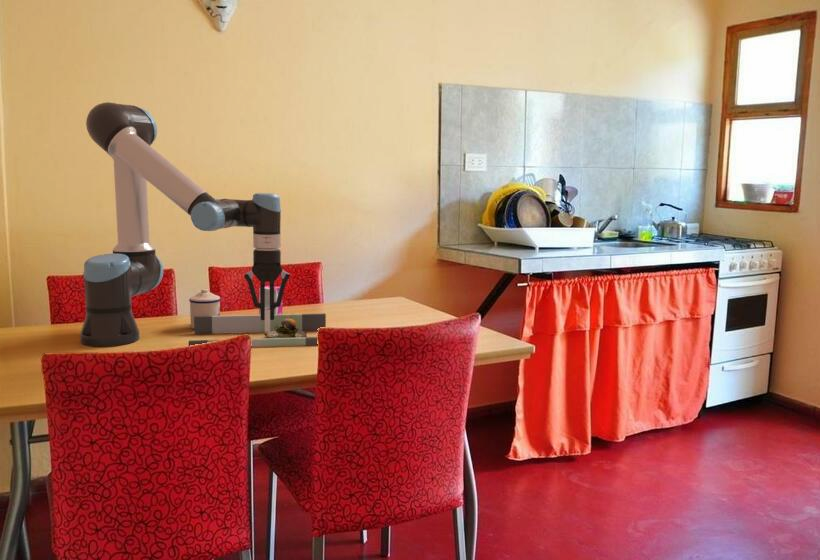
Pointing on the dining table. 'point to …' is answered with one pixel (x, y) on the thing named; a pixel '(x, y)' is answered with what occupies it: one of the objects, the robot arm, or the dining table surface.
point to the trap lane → (258, 327)
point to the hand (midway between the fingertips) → (267, 330)
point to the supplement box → (267, 299)
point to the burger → (286, 330)
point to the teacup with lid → (204, 305)
